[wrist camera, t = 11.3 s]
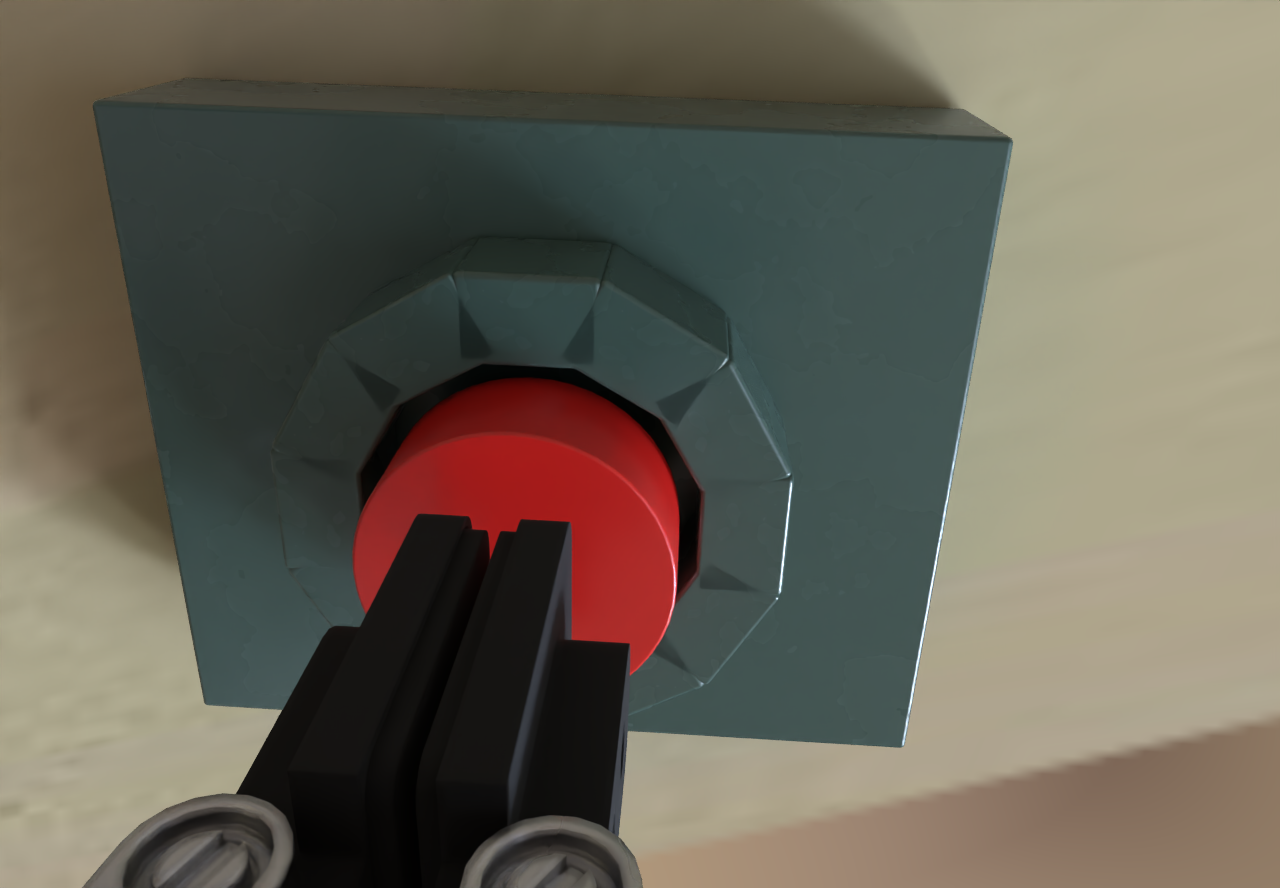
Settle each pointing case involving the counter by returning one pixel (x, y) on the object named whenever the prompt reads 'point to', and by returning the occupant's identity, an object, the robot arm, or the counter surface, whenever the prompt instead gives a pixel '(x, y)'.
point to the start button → (541, 498)
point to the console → (567, 354)
